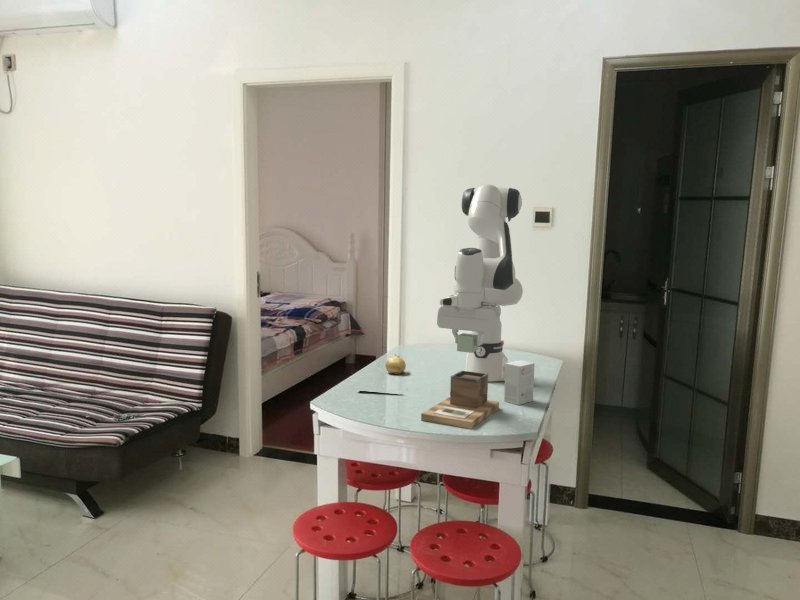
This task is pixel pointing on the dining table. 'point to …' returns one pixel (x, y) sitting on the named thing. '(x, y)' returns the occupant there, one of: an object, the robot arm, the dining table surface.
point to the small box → (519, 382)
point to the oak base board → (460, 421)
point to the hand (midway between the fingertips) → (467, 344)
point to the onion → (395, 364)
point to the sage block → (466, 342)
